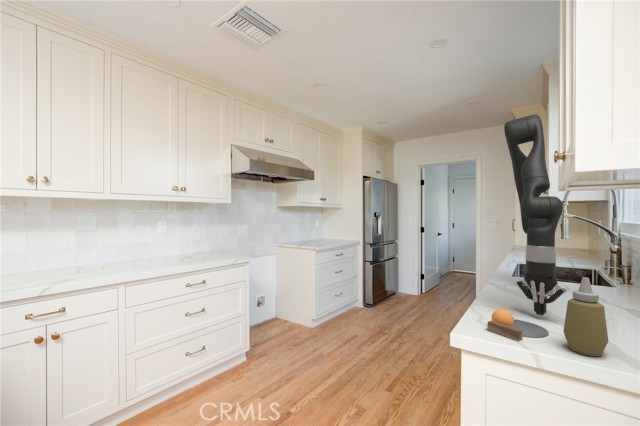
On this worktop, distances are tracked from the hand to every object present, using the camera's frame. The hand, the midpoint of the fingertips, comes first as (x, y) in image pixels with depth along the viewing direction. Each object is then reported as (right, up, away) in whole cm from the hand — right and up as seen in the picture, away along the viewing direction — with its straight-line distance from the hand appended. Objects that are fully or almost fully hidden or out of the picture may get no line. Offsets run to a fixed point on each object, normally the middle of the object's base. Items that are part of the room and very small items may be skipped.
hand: (539, 314), depth 91 cm
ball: (-16, +1, -7) cm, 18 cm away
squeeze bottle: (-5, -2, -21) cm, 21 cm away
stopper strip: (-19, -2, -12) cm, 22 cm away
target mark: (-11, -2, -7) cm, 13 cm away
